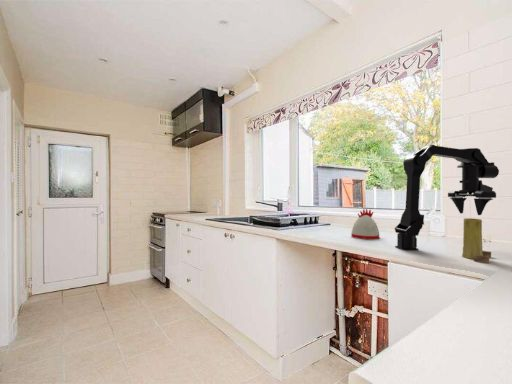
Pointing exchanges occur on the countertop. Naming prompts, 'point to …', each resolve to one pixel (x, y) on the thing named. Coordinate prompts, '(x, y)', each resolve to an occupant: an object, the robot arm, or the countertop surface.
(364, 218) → the grey red beanie hat
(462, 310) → the countertop surface
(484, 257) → the wooden blocks
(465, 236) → the vase
